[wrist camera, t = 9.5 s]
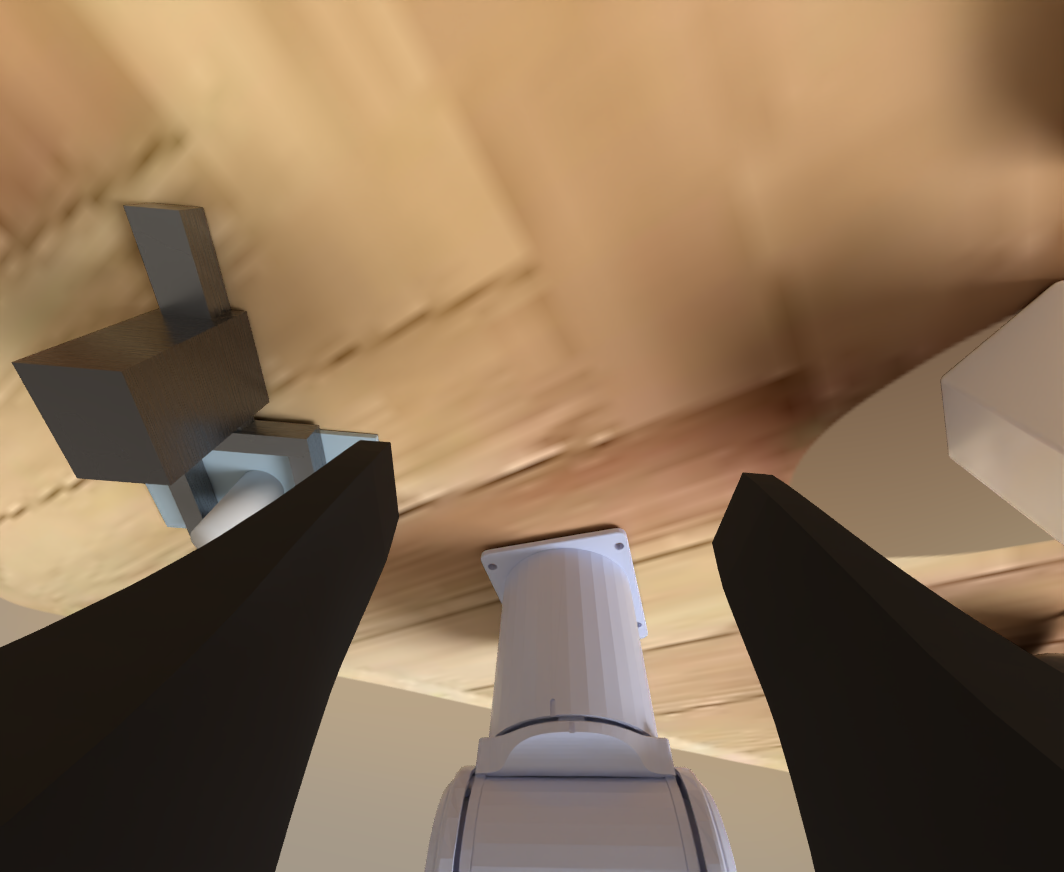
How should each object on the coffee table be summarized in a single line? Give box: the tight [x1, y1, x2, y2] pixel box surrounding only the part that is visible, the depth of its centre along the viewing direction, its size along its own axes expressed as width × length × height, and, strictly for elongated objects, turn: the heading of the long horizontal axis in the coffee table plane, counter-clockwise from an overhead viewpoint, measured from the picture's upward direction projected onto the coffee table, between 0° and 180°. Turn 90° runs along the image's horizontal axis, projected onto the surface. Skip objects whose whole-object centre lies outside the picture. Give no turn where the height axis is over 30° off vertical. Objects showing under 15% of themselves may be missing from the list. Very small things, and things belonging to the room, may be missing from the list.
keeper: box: [146, 430, 379, 549], centre depth 21 cm, size 7×12×4 cm, turn 85°
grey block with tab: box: [12, 203, 326, 535], centre depth 17 cm, size 16×7×6 cm, turn 175°
